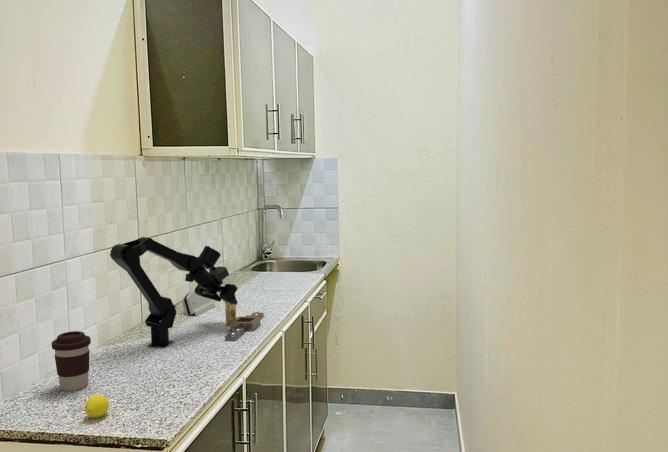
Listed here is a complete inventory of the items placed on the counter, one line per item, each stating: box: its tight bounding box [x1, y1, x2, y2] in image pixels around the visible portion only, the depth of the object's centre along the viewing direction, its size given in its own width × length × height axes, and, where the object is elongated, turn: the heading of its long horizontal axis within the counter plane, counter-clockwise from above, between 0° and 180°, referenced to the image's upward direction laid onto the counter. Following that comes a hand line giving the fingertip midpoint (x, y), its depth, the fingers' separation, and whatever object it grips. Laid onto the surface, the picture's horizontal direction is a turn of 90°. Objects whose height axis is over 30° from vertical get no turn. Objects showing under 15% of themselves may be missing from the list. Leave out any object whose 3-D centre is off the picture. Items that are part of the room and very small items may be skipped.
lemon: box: [84, 394, 110, 419], centre depth 147 cm, size 7×5×5 cm
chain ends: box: [224, 311, 265, 342], centre depth 223 cm, size 33×9×3 cm, turn 169°
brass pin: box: [224, 293, 237, 326], centre depth 228 cm, size 4×4×12 cm
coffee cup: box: [51, 330, 92, 392], centre depth 167 cm, size 10×10×15 cm
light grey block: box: [181, 289, 217, 317], centre depth 249 cm, size 17×5×10 cm, turn 164°
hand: (228, 302), depth 227 cm, fingers open, 9 cm apart
